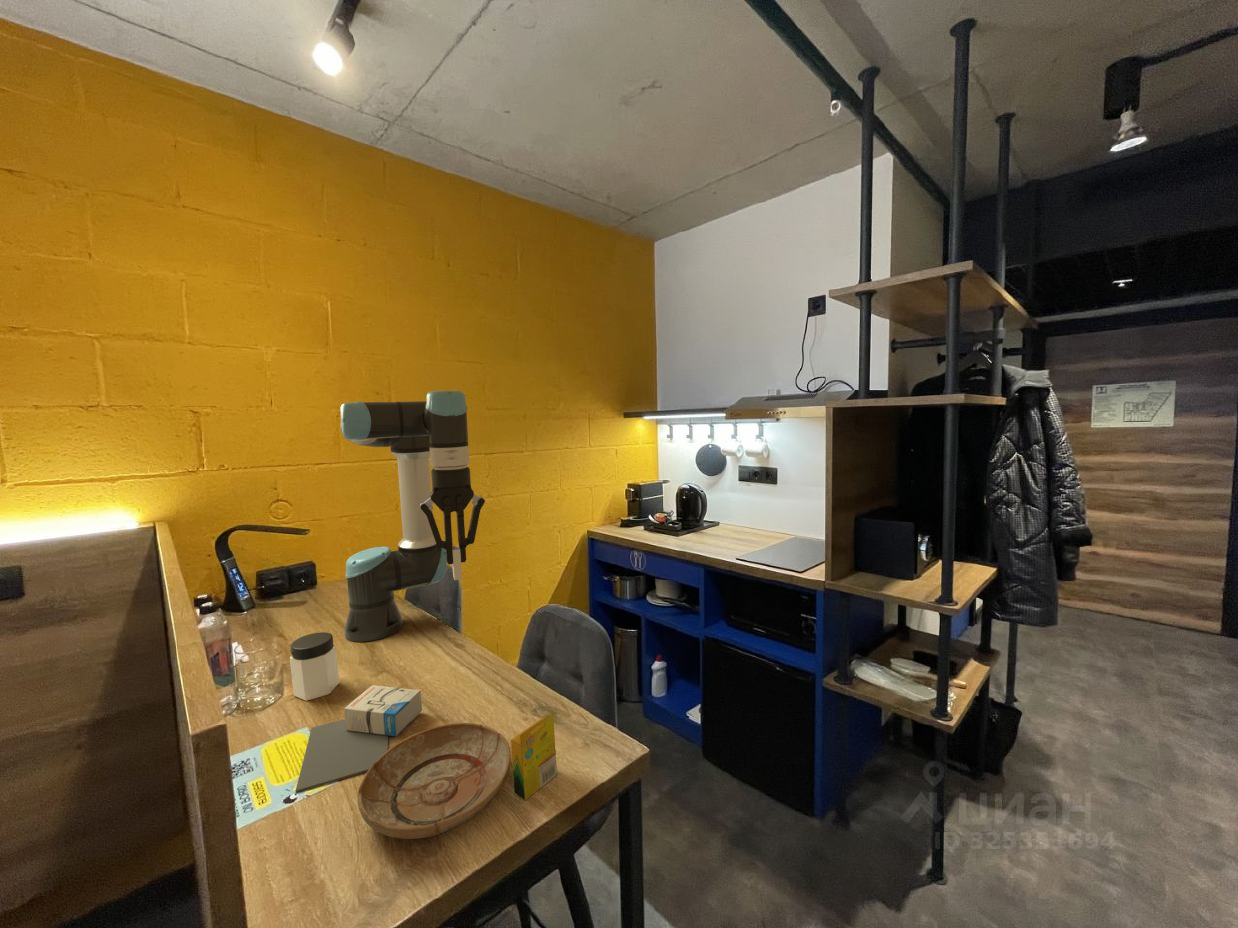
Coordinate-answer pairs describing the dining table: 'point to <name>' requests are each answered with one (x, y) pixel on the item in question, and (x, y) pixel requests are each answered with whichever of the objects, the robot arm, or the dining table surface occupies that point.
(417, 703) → the ink box
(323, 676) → the jar
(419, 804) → the ceramic bowl
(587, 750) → the dining table surface
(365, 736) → the mat
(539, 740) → the crayon box
